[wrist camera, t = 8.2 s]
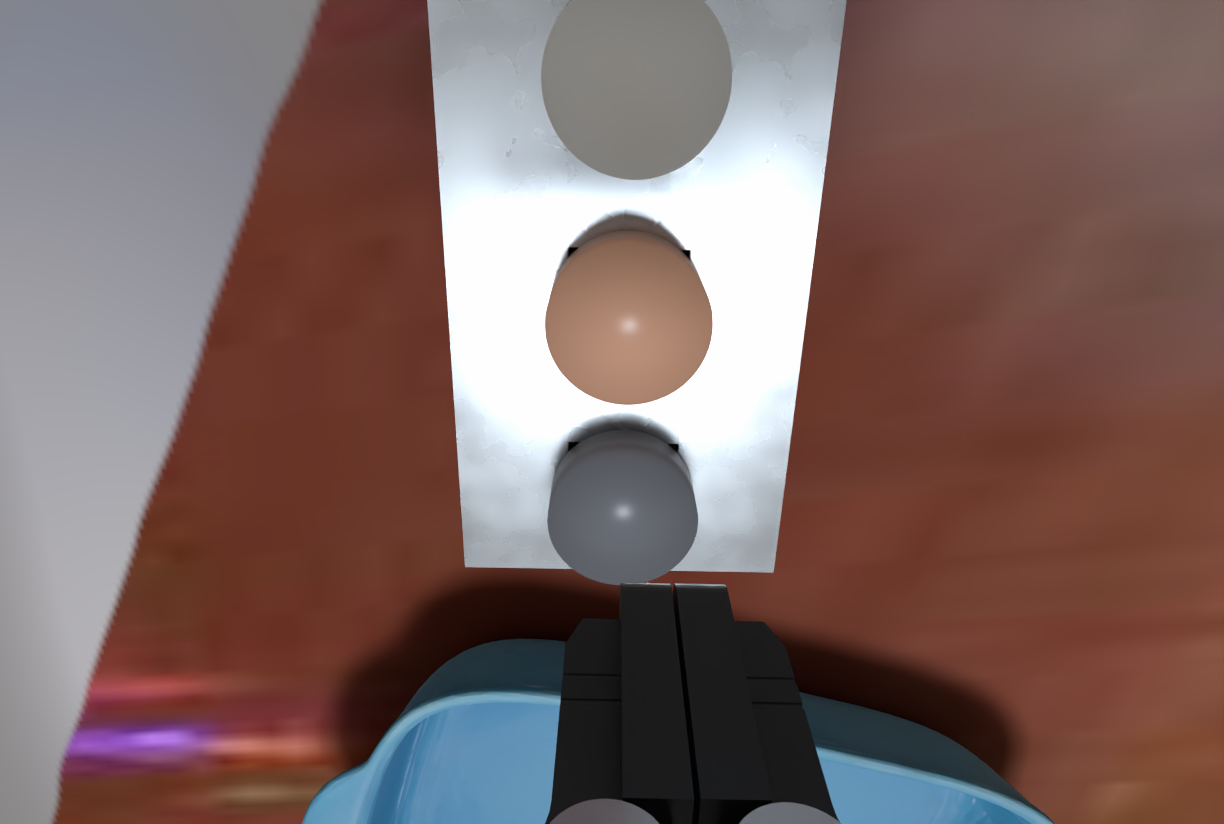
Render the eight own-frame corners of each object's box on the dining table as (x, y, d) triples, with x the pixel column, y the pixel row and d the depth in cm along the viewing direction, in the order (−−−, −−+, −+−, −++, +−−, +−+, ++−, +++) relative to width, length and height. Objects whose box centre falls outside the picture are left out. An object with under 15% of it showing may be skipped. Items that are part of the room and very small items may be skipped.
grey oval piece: (710, -4, 26) (740, -27, 20) (699, 158, 28) (724, 182, 22) (556, -7, 26) (539, -32, 20) (557, 154, 28) (542, 178, 22)
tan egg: (696, 208, 29) (719, 245, 23) (688, 340, 31) (707, 406, 25) (558, 205, 29) (543, 241, 23) (558, 337, 31) (545, 403, 25)
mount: (810, -30, 26) (853, -52, 22) (752, 506, 35) (773, 572, 30) (456, -39, 26) (423, -62, 21) (484, 501, 35) (465, 566, 30)
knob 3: (685, 382, 32) (703, 457, 26) (678, 493, 34) (693, 586, 28) (559, 380, 32) (546, 454, 25) (559, 490, 34) (548, 583, 28)
